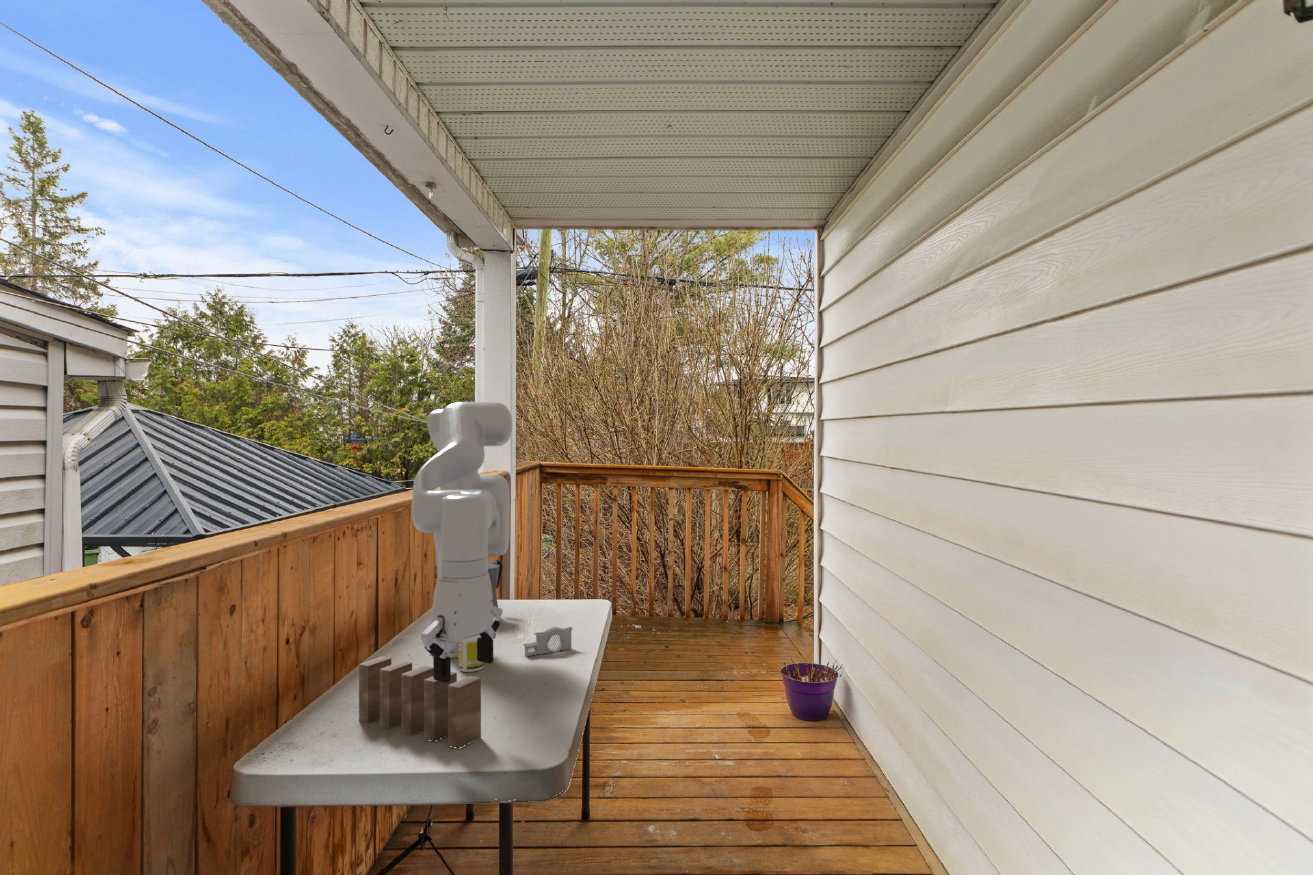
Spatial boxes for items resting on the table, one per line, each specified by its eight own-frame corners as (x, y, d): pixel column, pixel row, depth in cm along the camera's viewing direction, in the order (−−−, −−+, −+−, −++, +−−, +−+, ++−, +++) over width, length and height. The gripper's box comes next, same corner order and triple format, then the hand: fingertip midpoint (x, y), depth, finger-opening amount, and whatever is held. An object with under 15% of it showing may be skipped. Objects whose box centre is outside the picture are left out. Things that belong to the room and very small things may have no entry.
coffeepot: (482, 627, 176) (482, 560, 176) (454, 623, 180) (454, 558, 180) (515, 613, 190) (514, 552, 191) (488, 610, 194) (488, 550, 194)
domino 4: (423, 739, 108) (424, 679, 109) (446, 728, 113) (446, 670, 113) (434, 742, 107) (434, 682, 107) (456, 731, 112) (456, 672, 112)
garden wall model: (525, 658, 150) (525, 632, 150) (523, 656, 152) (523, 630, 152) (573, 649, 157) (573, 624, 157) (569, 647, 158) (569, 623, 158)
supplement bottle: (488, 666, 145) (488, 622, 145) (474, 674, 140) (474, 628, 140) (468, 663, 147) (468, 620, 147) (453, 671, 141) (453, 626, 142)
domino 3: (401, 732, 111) (401, 674, 111) (424, 722, 115) (424, 665, 116) (410, 735, 110) (411, 676, 110) (434, 724, 114) (434, 667, 114)
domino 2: (379, 726, 114) (379, 669, 114) (403, 716, 118) (403, 660, 118) (388, 729, 113) (389, 671, 113) (412, 718, 117) (412, 662, 117)
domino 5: (448, 746, 106) (448, 685, 106) (470, 734, 110) (470, 675, 110) (458, 750, 105) (458, 687, 105) (481, 737, 109) (480, 678, 109)
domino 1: (358, 720, 116) (359, 664, 116) (382, 710, 121) (382, 656, 121) (367, 722, 115) (367, 666, 115) (391, 712, 120) (391, 658, 120)
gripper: (484, 557, 117) (484, 652, 117) (406, 576, 102) (406, 684, 102) (516, 561, 114) (516, 659, 114) (440, 581, 99) (440, 693, 99)
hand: (464, 671), depth 108 cm, fingers open, 9 cm apart
